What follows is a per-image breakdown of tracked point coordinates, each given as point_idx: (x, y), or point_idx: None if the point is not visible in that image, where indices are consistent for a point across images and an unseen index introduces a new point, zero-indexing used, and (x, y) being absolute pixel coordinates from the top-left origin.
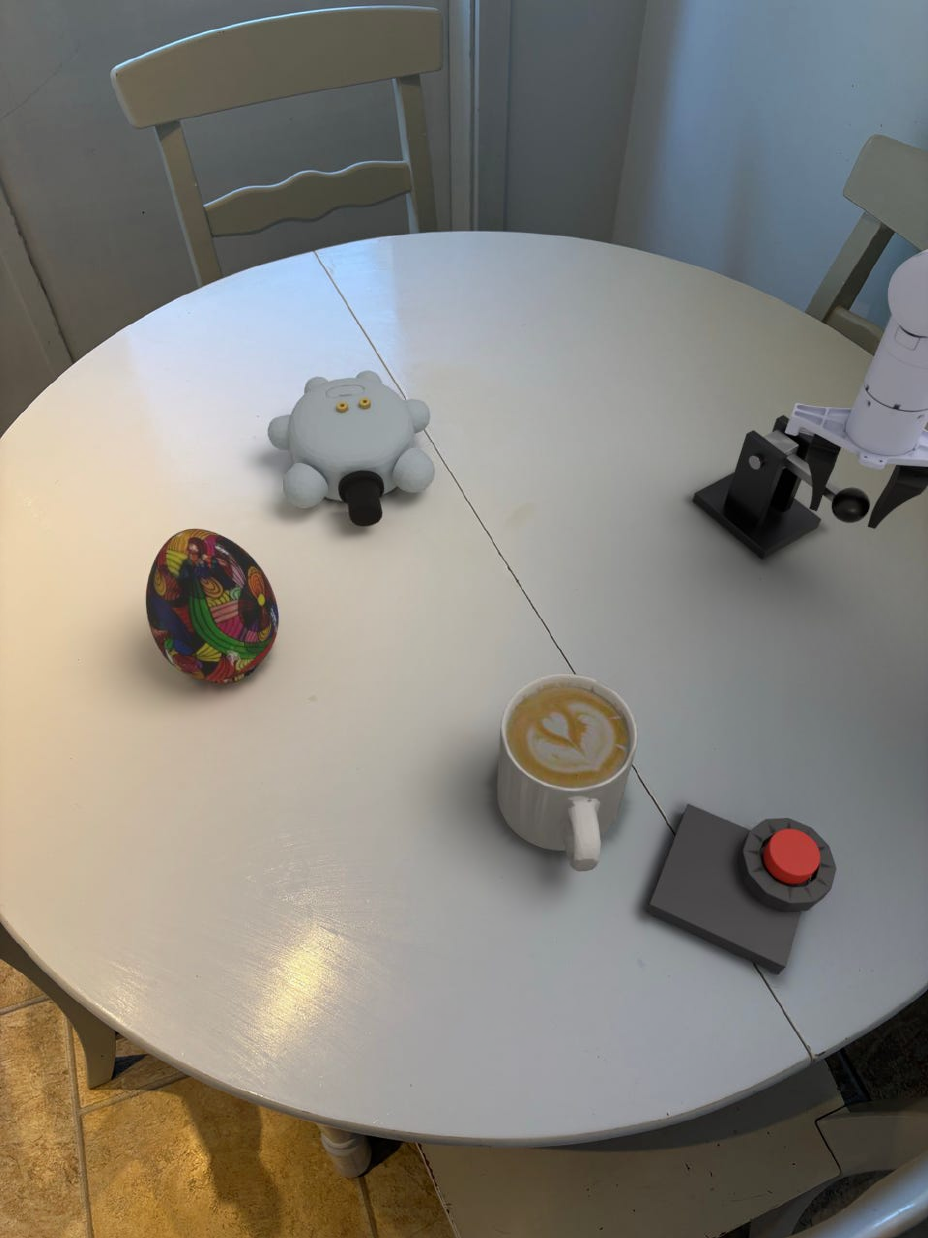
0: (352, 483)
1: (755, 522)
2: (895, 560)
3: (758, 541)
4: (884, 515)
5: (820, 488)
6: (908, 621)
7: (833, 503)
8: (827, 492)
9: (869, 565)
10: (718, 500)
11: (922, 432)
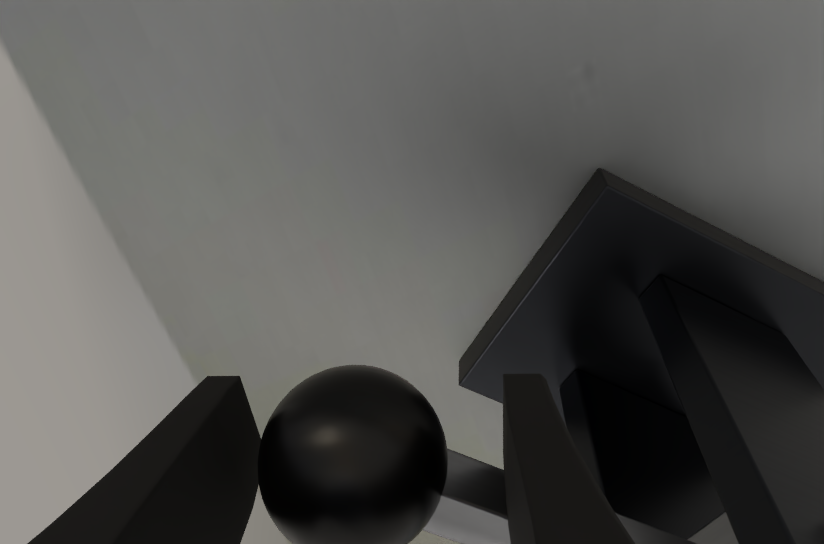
0: None
1: (673, 290)
2: (228, 335)
3: (639, 222)
4: (129, 460)
5: (560, 526)
6: (82, 133)
7: (436, 442)
8: (486, 490)
9: (279, 291)
10: (809, 335)
11: None
